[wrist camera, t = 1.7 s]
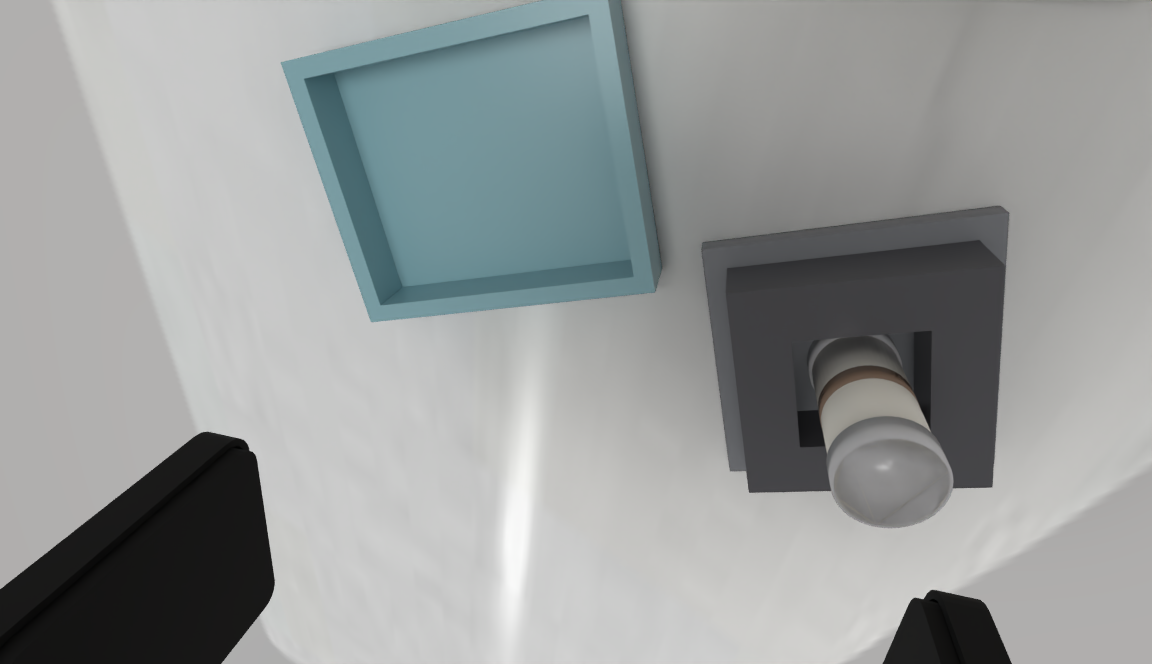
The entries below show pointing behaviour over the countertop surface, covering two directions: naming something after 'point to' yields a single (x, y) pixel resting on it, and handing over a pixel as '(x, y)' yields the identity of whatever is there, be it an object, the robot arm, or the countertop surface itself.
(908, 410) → the fuse
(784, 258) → the fuse panel
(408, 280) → the parts tray
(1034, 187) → the countertop surface
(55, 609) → the robot arm
